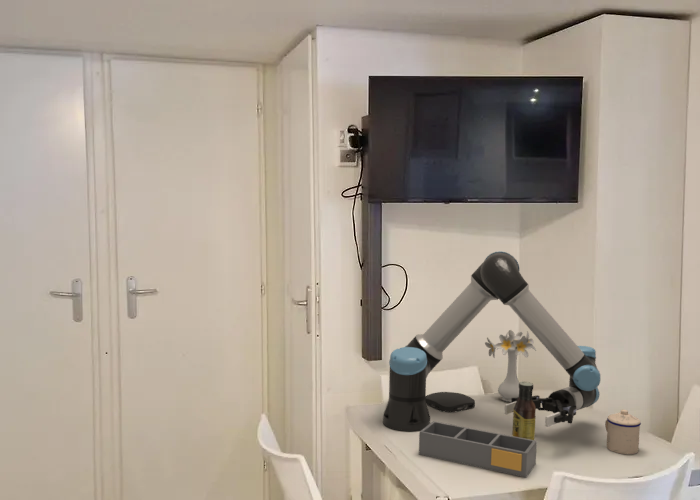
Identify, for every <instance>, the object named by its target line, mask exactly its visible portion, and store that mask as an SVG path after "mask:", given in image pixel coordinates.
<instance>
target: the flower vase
mask: <svg viewBox="0 0 700 500" xmlns="http://www.w3.org/2000/svg"><path fill="white" fill-rule="evenodd" d="M498 338H499V341H500V342H498V343H496V344H494V343H493V342H492V341H491V340H490V339H489V337H486V340H487V341H485V342H484V344H485V346H486V347H487V348H488V349H489V350H488V356H489V357H491V356H492V357H493V358H494V359H495V356H496V355H495V354H496V350H498V349H500V350H502V351H501V353H502V355H503V356H506V355H507V372H506V376H505V378H504V380H503V381H502V382H501V383H500V384H499V386H498V387H497V393H498V394H499V395H500V397H501V400H502V401H504V402H507V403H511V399H512V398H516V397H519V383H520V381H519V378H518V374H517V362H518V361H517V360H518V359H517V358H518V356H519V355H520V354H522V356H524V358H529V352H528V350H529V349H532V350H534V351H535V352H536V351H537V349H536V348H535V346H534V340H533V338H530V333H529V331H526V336H525V335H523V332H522V331H519V332H517V333H516V334H515V333H514V331H513V330H512V329H510V330H508V331H507V332H506V334H505V335H503V334H499V337H498Z"/></svg>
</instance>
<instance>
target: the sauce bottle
mask: <svg viewBox="0 0 700 500" xmlns="http://www.w3.org/2000/svg"><path fill="white" fill-rule="evenodd" d="M533 391H534V384H533V382H531V381H523V380H522V381H519V397H518V399H517V402H516V404H515V407H514V411H513V412H512V414H513V415H512V435H511V436H515V437H520V438H525V439H531V440H535V434H536V419H537V417H536V410H537V409H536V407H535V404H534V402H533V400H532V396H533Z"/></svg>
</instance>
